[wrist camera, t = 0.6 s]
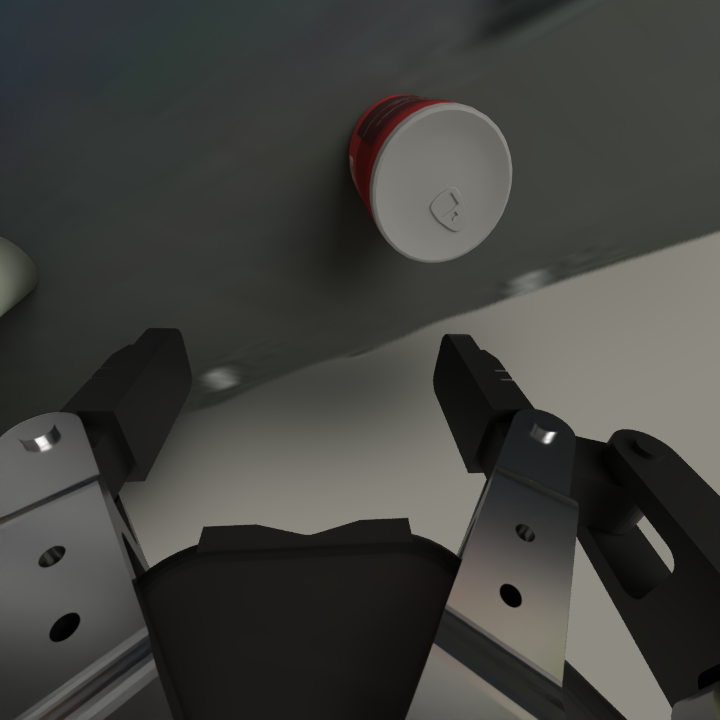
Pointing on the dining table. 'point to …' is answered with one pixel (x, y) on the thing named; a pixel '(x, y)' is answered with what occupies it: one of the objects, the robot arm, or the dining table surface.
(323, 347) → the dining table surface
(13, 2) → the dining table surface
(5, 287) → the sage jar
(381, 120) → the canned food
